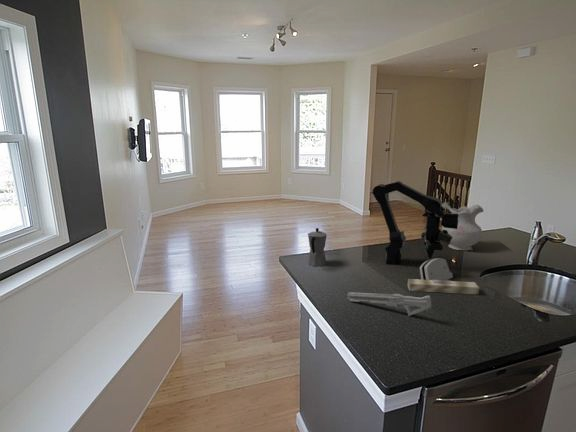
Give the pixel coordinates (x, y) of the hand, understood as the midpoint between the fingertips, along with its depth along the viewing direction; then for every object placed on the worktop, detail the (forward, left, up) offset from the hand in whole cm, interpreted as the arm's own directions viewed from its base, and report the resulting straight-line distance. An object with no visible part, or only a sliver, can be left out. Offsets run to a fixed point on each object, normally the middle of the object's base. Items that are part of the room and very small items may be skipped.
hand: (429, 258), depth 164 cm
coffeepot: (-53, -1, -5) cm, 53 cm away
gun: (-24, -43, -5) cm, 49 cm away
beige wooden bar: (0, -23, -5) cm, 24 cm away
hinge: (0, -12, -5) cm, 13 cm away
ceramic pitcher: (+22, +34, -5) cm, 41 cm away
